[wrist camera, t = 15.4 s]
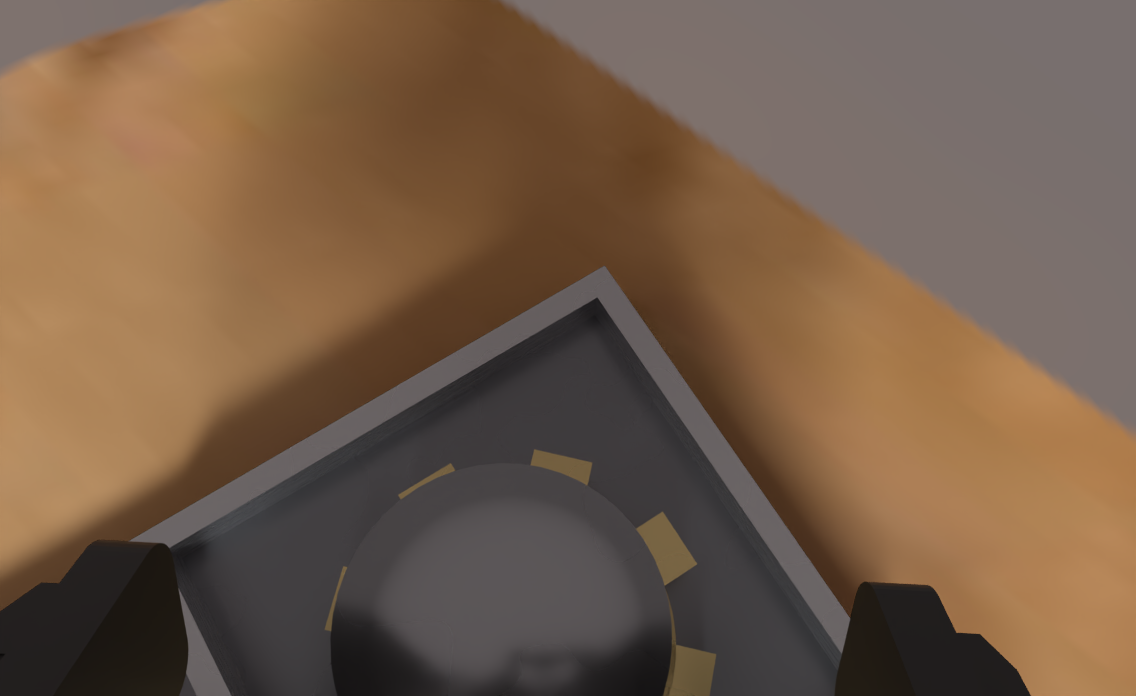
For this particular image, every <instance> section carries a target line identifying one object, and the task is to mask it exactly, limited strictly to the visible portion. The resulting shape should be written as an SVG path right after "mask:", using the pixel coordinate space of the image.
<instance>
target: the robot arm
mask: <svg viewBox="0 0 1136 696" xmlns="http://www.w3.org/2000/svg"><path fill="white" fill-rule="evenodd" d="M188 651H189V650H188V638H187V633H186V627H185V622H184V616H183V611H182V605H181V600H180V594H179V589H178V583H177V578H176V572H175V567H174V561H173V557H172V553H171V551H170V549H169V547H168V546H167V545H166V544H164V543H153V542H134V541H114V540H97V541H94V542H93V543H91V544H90V545H89V546H88V547H87V548H86V549H85V550H84V552H83V553H82V554H81V556H80V557H79V558H78V560H77V561H76V562H75V564H74V565H73V566H72V567H71V569H70V570H69V571H68V573H67V574H66V575H65V577H64V578H63V579H62V581H61V582H60V583H59V584H58V583H40V584H39V585H37V586H36V587H35V588H33V589H32V590H30V591H29V592H27V593H26V594H25V595H23V596H22V597H20V598H19V599H17V600H16V601H15V602H13V603H12V604H10V605H9V606H7V607H6V608H5V609H3V610H2V611H0V696H179V695H180V692H181V690H182V687H183V683H184V680H185V676H186V671H187V665H188ZM835 696H1031V695H1030V693H1029V691H1028V689H1027V688H1026V686H1025V684H1024V682H1023V680H1022V678H1021V676H1020V675H1019V673H1018V671H1017V669H1015V668H1014V667H1013V666H1012V665H1011V664H1010V663H1009V662H1008V661H1007V660H1006V659H1005V658H1004V657H1003V656H1002V655H1001V654H1000V653H999V652H998V651H997V650H996V649H995V648H994V647H993V646H992V645H991V644H990V643H988V642H987V641H986V640H985V639H984V638H983V637H982V636H981V635H980V634H968V633H956V631H955V629H954V627H953V625H952V623H951V621H950V619H949V617H948V615H947V613H946V611H945V609H944V606H943V604H942V602H941V600H940V598H939V596H938V594H937V593H936V591H935V590H934V589H933V588H932V587H931V586H928V585H915V584H896V583H877V582H863V583H862V584H861V585H860V587H859V588H858V591H857V593H856V597H855V601H854V605H853V609H852V613H851V618H850V622H849V626H848V630H847V635H846V639H845V643H844V647H843V651H842V656H841V660H840V664H839V668H838V672H837V677H836V683H835Z"/></svg>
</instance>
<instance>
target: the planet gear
mask: <svg viewBox="0 0 1136 696" xmlns="http://www.w3.org/2000/svg"><path fill="white" fill-rule="evenodd" d="M591 467H592V462H588V461H583V460H579V459H575V458H570V457H566V456H561V455H557V454H552V453H548V452H544V451H539V450H535V449H534V453H533V457H532V461H531V465H525V464H513V463H495V464H485V465H477V466H473V467H468V468H464V469H460V470H456V471H455V469H454V467H453V466H452V464H451V463H450V464H448V465H447V466H445V467H444V468H442V469H440V470H439V471H437V472H435V473H434V474H432V475H430V476H429V477H427V478H425V479H424V480H422V481H420V482H419V483H417V484H415V485H414V486H412V487H410V488H409V489H407V490H405V491H404V492H402V493H400V494H399V495H398V496H399V497H400V499H401V500H400V501H398V502H397V503H396V504H395V505H394V506H393V507H392V508H391V509H389V510H388V511H387V512H386V513H385V514H384V515H383V516H382V517H381V518H380V519H379V521H378V522H377V523H376V524H375V525H374V526H373V527H372V529H371V530H370V531H369V532H368V534H367V535H366V537H365V538H364V540H363V541H362V543H361V544H360V546H359V547H358V548H357V550H356V552H355V554H354V556H353V558H352V560H351V562H350V564H349V565H348V567H345V566H343V569H342V572H341V576H340V579H339V582H338V586H337V589H336V592H335V596H334V599H333V603H332V606H331V609H330V613H329V616H328V619H327V623H326V626H325V630H328V631H331V637H330V644H331V666H332V672H333V679H334V685H335V689H336V692H337V696H709V695H710V689H711V683H712V677H713V671H714V665H715V659H716V654H713V653H709V652H705V651H700V650H696V649H692V648H688V647H683V646H679V645H676V633H675V626H674V618H673V613H672V609H671V605H670V601H669V598H668V594H667V592H666V589H665V585H667V584H668V583H670V582H671V581H673V580H674V579H676V578H677V577H679V576H680V575H682V574H683V573H685V572H686V571H688V570H689V569H691V568H692V567H694V566H695V565H697V563H696V561H695V560H694V558H693V557H692V555H691V554H690V552H689V551H688V549H687V548H686V546H685V545H684V543H683V542H682V540H681V539H680V537H679V535H678V534H677V532H676V531H675V529H674V528H673V526H672V525H671V523H670V522H669V520H668V519H667V517H666V516H665V514H664V513H663V512H661V513H660V514H658V515H657V516H655V517H653V518H652V519H650V520H649V521H647V522H646V523H644V524H643V525H641V526H639V527H638V528H636V529H635V527H634V526H633V524H632V523H631V522H630V521H629V520H628V519H627V518H626V517H625V516H624V514H623V513H622V512H621V511H620V510H619V509H618V508H617V507H616V506H615V505H613V504H612V503H611V502H610V501H608V500H607V499H606V498H605V497H604V496H602V495H601V494H600V493H598V492H597V491H595V490H594V489H592V488H590V487H589V486H587V485H588V481H589V476H590V472H591Z"/></svg>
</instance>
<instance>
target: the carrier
mask: <svg viewBox="0 0 1136 696" xmlns="http://www.w3.org/2000/svg"><path fill="white" fill-rule="evenodd" d="M534 449H535V450H539V451H544V452H548V453H552V454H557V455H561V456H566V457H570V458H575V459H579V460H583V461H588V462H592V467H591V472H590V476H589V481H588V485H587V486H589V487H590V488H592V489H594V490H595V491H597V492H598V493H600V494H601V495H602V496H604V497H605V498H606V499H607V500H608V501H610V502H611V503H612V504H613V505H615V506H616V507H617V508H618V509H619V510H620V511H621V512H622V513H623V514H624V516H625V517H626V518H627V519H628V520H629V521H630V522H631V523H632V524H633V526H634V527H635V529H636V528H638V527H639V526H641V525H643V524H644V523H646V522H647V521H649V520H650V519H652V518H653V517H655V516H657V515H658V514H660V513H661V512H663V513H664V514H665V516H666V517H667V519H668V520H669V522H670V523H671V525H672V526H673V528H674V529H675V531H676V532H677V534H678V535H679V537H680V539H681V540H682V542H683V543H684V545H685V546H686V548H687V549H688V551H689V552H690V554H691V555H692V557H693V558H694V560H695V561H696V563H697V565H695V566H694V567H692V568H691V569H689V570H688V571H686V572H685V573H683V574H682V575H680V576H679V577H677V578H676V579H674V580H673V581H671V582H670V583H668V584H667V585H665V589H666V592H667V594H668V598H669V601H670V605H671V609H672V613H673V618H674V626H675V633H676V645H679V646H683V647H688V648H692V649H696V650H700V651H705V652H709V653H713V654H716V659H715V665H714V671H713V677H712V683H711V689H710V695H709V696H835V683H836V677H837V672H838V668H839V664H840V660H841V656H842V651H843V647H844V643H845V639H846V635H847V630H848V626H849V622H850V617H849V616H848V615H847V613H846V612H845V610H844V609H843V607H842V606H841V604H840V603H839V602H838V600H837V599H836V597H835V596H834V594H833V593H832V592H831V590H830V589H829V587H828V586H827V584H826V583H825V581H824V580H823V579H822V577H821V576H820V574H819V573H818V571H817V570H816V569H815V567H814V566H813V564H812V563H811V561H810V560H809V558H808V557H807V556H806V554H805V553H804V551H803V550H802V548H801V547H800V546H799V544H798V543H797V541H796V540H795V538H794V537H793V535H792V534H791V533H790V531H789V530H788V528H787V527H786V525H785V524H784V523H783V521H782V520H781V518H780V517H779V515H778V514H777V512H776V511H775V510H774V508H773V507H772V505H771V504H770V502H769V501H768V500H767V498H766V497H765V495H764V494H763V492H762V491H761V490H760V488H759V487H758V485H757V484H756V482H755V481H754V479H753V478H752V477H751V475H750V474H749V472H748V471H747V469H746V468H745V467H744V465H743V464H742V462H741V461H740V459H739V458H738V456H737V455H736V454H735V452H734V451H733V449H732V448H731V446H730V445H729V444H728V442H727V441H726V439H725V438H724V436H723V435H722V433H721V432H720V431H719V429H718V428H717V426H716V425H715V423H714V422H713V421H712V419H711V418H710V416H709V415H708V413H707V412H706V410H705V409H704V408H703V406H702V405H701V403H700V402H699V400H698V399H697V398H696V396H695V395H694V393H693V392H692V390H691V389H690V387H689V386H688V385H687V383H686V382H685V380H684V379H683V377H682V376H681V375H680V373H679V372H678V370H677V369H676V367H675V366H674V364H673V363H672V362H671V360H670V359H669V357H668V356H667V354H666V353H665V352H664V350H663V349H662V347H661V346H660V344H659V343H658V341H657V340H656V339H655V337H654V336H653V334H652V333H651V331H650V330H649V329H648V327H647V326H646V324H645V323H644V321H643V320H642V318H641V317H640V316H639V314H638V313H637V311H636V310H635V308H634V307H633V306H632V304H631V303H630V301H629V300H628V298H627V297H626V295H625V294H624V293H623V291H622V290H621V288H620V287H619V285H618V284H617V283H616V281H615V280H614V278H613V277H612V275H611V274H610V272H609V271H608V270H607V268H606V267H605V266H603V267H601V268H599V269H598V270H596V271H594V272H593V273H591V274H589V275H587V276H586V277H584V278H582V279H580V280H579V281H577V282H575V283H574V284H572V285H570V286H568V287H567V288H565V289H563V290H561V291H560V292H558V293H556V294H555V295H553V296H551V297H549V298H548V299H546V300H544V301H542V302H541V303H539V304H537V305H536V306H534V307H532V308H530V309H529V310H527V311H525V312H523V313H522V314H520V315H518V316H517V317H515V318H513V319H511V320H510V321H508V322H506V323H504V324H503V325H501V326H499V327H498V328H496V329H494V330H492V331H491V332H489V333H487V334H485V335H484V336H482V337H480V338H479V339H477V340H475V341H473V342H472V343H470V344H468V345H466V346H465V347H463V348H461V349H460V350H458V351H456V352H454V353H453V354H451V355H449V356H447V357H446V358H444V359H442V360H441V361H439V362H437V363H435V364H434V365H432V366H430V367H428V368H427V369H425V370H423V371H422V372H420V373H418V374H416V375H415V376H413V377H411V378H409V379H408V380H406V381H404V382H403V383H401V384H399V385H397V386H396V387H394V388H392V389H390V390H389V391H387V392H385V393H384V394H382V395H380V396H378V397H377V398H375V399H373V400H371V401H370V402H368V403H366V404H365V405H363V406H361V407H359V408H358V409H356V410H354V411H352V412H351V413H349V414H347V415H346V416H344V417H342V418H340V419H339V420H337V421H335V422H333V423H332V424H330V425H328V426H327V427H325V428H323V429H321V430H320V431H318V432H316V433H314V434H313V435H311V436H309V437H308V438H306V439H304V440H302V441H301V442H299V443H297V444H295V445H294V446H292V447H290V448H289V449H287V450H285V451H283V452H282V453H280V454H278V455H276V456H275V457H273V458H271V459H270V460H268V461H266V462H264V463H263V464H261V465H259V466H257V467H256V468H254V469H252V470H251V471H249V472H247V473H245V474H244V475H242V476H240V477H238V478H237V479H235V480H233V481H232V482H230V483H228V484H226V485H225V486H223V487H221V488H219V489H218V490H216V491H214V492H213V493H211V494H209V495H207V496H206V497H204V498H202V499H200V500H199V501H197V502H195V503H194V504H192V505H190V506H188V507H187V508H185V509H183V510H181V511H180V512H178V513H176V514H175V515H173V516H171V517H169V518H168V519H166V520H164V521H162V522H161V523H159V524H157V525H156V526H154V527H152V528H150V529H149V530H147V531H145V532H143V533H142V534H140V535H138V536H137V537H135V538H133V539H131V540H130V541H134V542H153V543H164V544H166V545H167V546H168V547H169V549H170V551H171V553H172V557H173V561H174V567H175V572H176V578H177V583H178V589H179V594H180V600H181V605H182V611H183V616H184V622H185V627H186V633H187V638H188V650H189V651H188V665H187V671H186V676H185V680H184V683H183V687H182V690H181V692H180V695H179V696H337V692H336V689H335V685H334V679H333V672H332V666H331V644H330V637H331V631H328V630H325V626H326V623H327V619H328V616H329V613H330V609H331V606H332V603H333V599H334V596H335V592H336V589H337V586H338V582H339V579H340V576H341V572H342V569H343V566H345V567H348V565H349V564H350V562H351V560H352V558H353V556H354V554H355V552H356V550H357V548H358V547H359V546H360V544H361V543H362V541H363V540H364V538H365V537H366V535H367V534H368V532H369V531H370V530H371V529H372V527H373V526H374V525H375V524H376V523H377V522H378V521H379V519H380V518H381V517H382V516H383V515H384V514H385V513H386V512H387V511H388V510H389V509H391V508H392V507H393V506H394V505H395V504H396V503H397V502H398V501H400V500H401V499H400V497H399V496H398V495H399V494H400V493H402V492H404V491H405V490H407V489H409V488H410V487H412V486H414V485H415V484H417V483H419V482H420V481H422V480H424V479H425V478H427V477H429V476H430V475H432V474H434V473H435V472H437V471H439V470H440V469H442V468H444V467H445V466H447V465H448V464H450V463H451V464H452V466H453V467H454V469H455V471H456V470H460V469H464V468H468V467H473V466H477V465H485V464H495V463H513V464H525V465H531V461H532V457H533V453H534Z"/></svg>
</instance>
